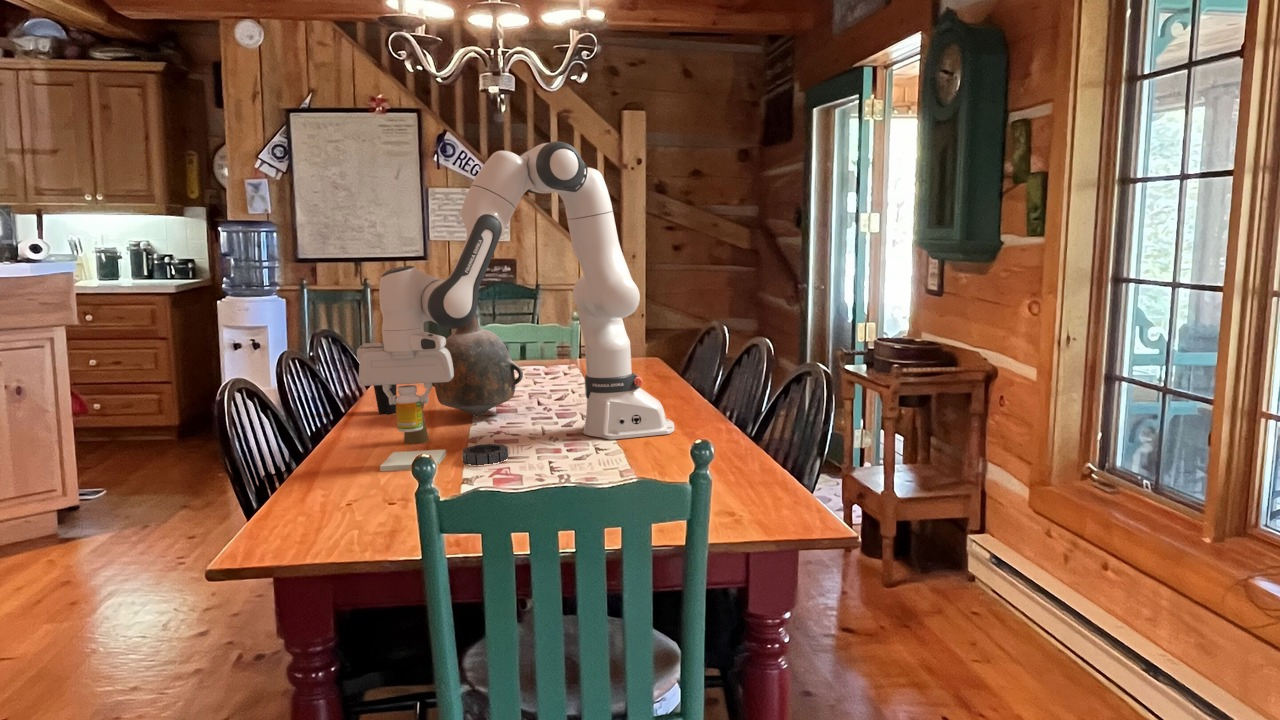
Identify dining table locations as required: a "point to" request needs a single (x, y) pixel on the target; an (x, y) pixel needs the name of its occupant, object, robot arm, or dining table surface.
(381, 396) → the drinking cup
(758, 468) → the dining table surface
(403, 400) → the supplement bottle
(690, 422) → the dining table surface
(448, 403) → the jug
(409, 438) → the brown pawn
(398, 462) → the board
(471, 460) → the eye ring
